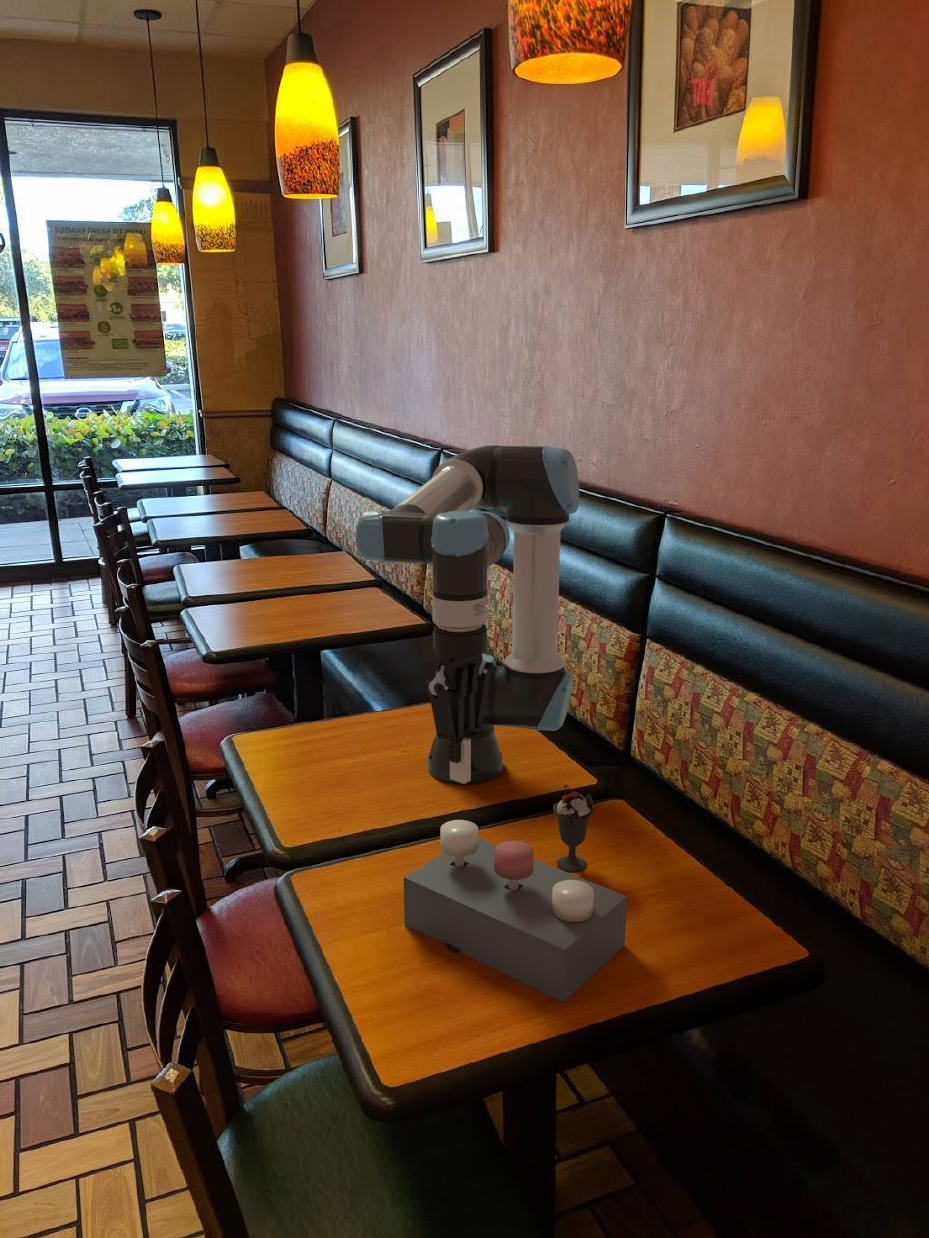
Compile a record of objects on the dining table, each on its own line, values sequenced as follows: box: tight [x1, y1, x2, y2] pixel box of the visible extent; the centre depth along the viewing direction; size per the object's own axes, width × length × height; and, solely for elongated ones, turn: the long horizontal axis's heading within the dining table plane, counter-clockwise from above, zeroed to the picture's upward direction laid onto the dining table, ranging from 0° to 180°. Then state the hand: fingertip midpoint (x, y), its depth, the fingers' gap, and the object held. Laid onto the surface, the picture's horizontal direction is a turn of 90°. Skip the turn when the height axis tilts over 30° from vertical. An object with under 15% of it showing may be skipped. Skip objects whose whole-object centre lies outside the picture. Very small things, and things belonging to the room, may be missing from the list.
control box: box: [403, 837, 628, 1003], centre depth 140 cm, size 16×28×8 cm, turn 51°
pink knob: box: [494, 840, 535, 892], centre depth 139 cm, size 6×6×8 cm
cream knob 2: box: [552, 880, 594, 922], centre depth 133 cm, size 6×6×8 cm
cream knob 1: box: [439, 819, 479, 869], centre depth 145 cm, size 6×6×8 cm
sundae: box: [552, 784, 595, 873], centre depth 158 cm, size 7×7×15 cm
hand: (460, 779), depth 141 cm, fingers closed
